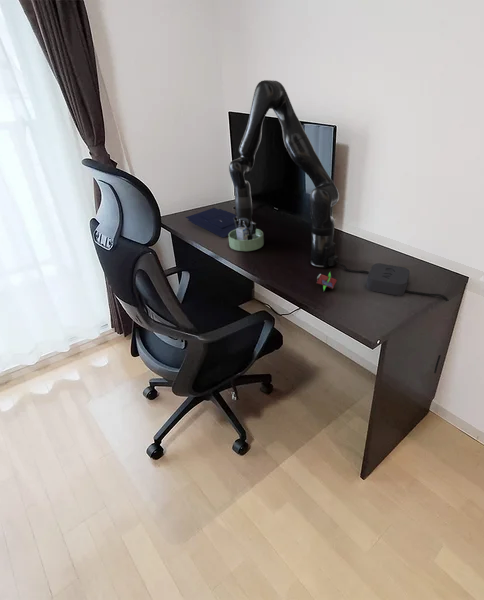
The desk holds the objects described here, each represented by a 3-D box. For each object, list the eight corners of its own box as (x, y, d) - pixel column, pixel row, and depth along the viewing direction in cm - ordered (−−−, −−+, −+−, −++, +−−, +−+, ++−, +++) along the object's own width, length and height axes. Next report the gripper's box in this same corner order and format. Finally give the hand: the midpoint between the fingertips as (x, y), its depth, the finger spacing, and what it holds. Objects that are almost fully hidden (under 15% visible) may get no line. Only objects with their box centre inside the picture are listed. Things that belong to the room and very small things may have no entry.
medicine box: (244, 247, 171) (242, 230, 166) (237, 245, 173) (235, 228, 169) (255, 242, 176) (254, 225, 172) (249, 240, 179) (247, 223, 174)
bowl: (270, 244, 176) (270, 233, 173) (245, 254, 165) (244, 243, 162) (247, 235, 185) (247, 225, 182) (222, 245, 174) (221, 234, 171)
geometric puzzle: (339, 279, 142) (328, 264, 139) (341, 288, 136) (329, 272, 133) (324, 289, 144) (312, 274, 141) (325, 298, 138) (313, 283, 135)
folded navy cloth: (216, 211, 212) (216, 205, 210) (255, 228, 199) (256, 222, 197) (182, 223, 195) (182, 216, 193) (222, 242, 182) (222, 236, 180)
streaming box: (372, 273, 151) (374, 262, 148) (408, 280, 147) (410, 268, 144) (364, 290, 140) (366, 278, 137) (403, 297, 135) (405, 285, 133)
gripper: (226, 203, 166) (230, 239, 175) (248, 210, 158) (250, 247, 168) (239, 200, 171) (242, 234, 180) (260, 206, 163) (262, 242, 172)
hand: (246, 240), depth 174 cm, fingers closed on medicine box, 4 cm apart
